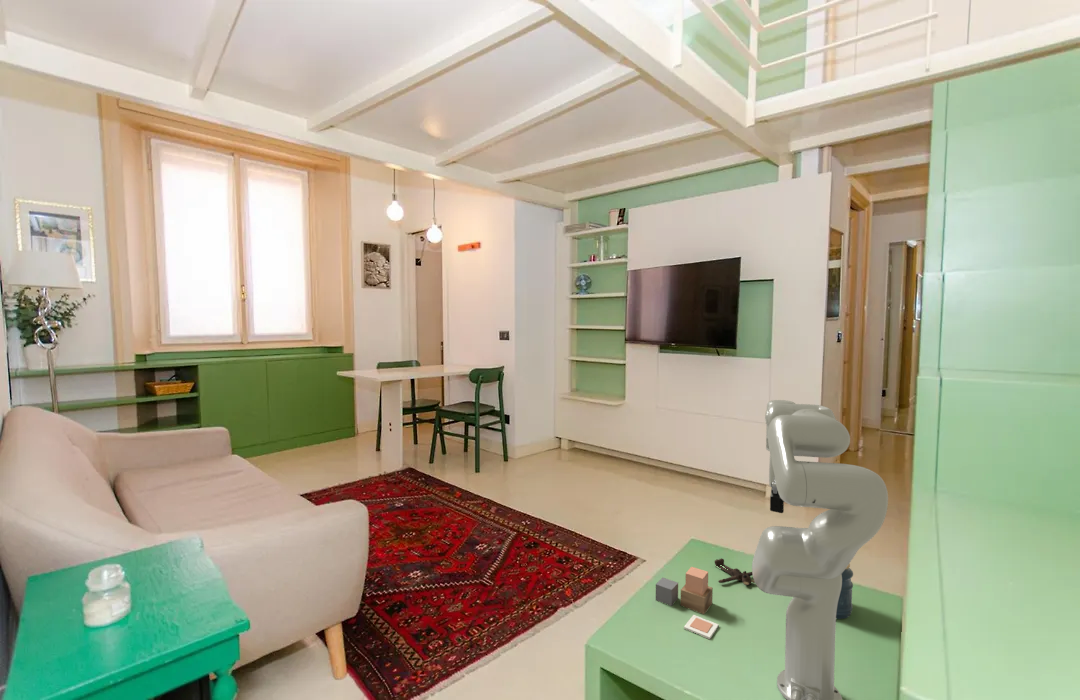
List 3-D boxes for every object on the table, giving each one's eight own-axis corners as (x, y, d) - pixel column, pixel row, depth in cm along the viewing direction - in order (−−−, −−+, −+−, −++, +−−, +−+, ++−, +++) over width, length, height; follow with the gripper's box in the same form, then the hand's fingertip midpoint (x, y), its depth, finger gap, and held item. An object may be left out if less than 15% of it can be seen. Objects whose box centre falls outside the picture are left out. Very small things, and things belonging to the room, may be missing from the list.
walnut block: (704, 615, 133) (704, 598, 132) (680, 606, 137) (680, 589, 137) (712, 604, 138) (712, 587, 138) (689, 595, 142) (689, 579, 142)
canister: (863, 617, 131) (865, 556, 130) (822, 622, 129) (824, 560, 128) (828, 592, 144) (829, 536, 143) (790, 596, 142) (791, 539, 141)
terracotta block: (702, 595, 134) (702, 578, 133) (685, 589, 137) (685, 573, 136) (708, 588, 138) (708, 571, 137) (691, 582, 141) (691, 566, 140)
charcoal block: (671, 606, 137) (671, 589, 137) (655, 600, 140) (655, 584, 140) (678, 598, 141) (678, 582, 140) (662, 593, 144) (662, 577, 144)
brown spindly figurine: (737, 553, 164) (772, 568, 151) (738, 565, 164) (773, 582, 150) (697, 562, 157) (729, 579, 144) (698, 575, 157) (730, 593, 144)
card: (709, 639, 122) (709, 636, 122) (683, 628, 126) (683, 626, 126) (718, 626, 127) (718, 623, 127) (693, 616, 132) (693, 614, 131)
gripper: (791, 453, 119) (789, 519, 119) (801, 441, 132) (800, 500, 133) (759, 449, 123) (758, 512, 124) (772, 438, 137) (771, 495, 137)
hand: (780, 506), depth 128 cm, fingers open, 9 cm apart
